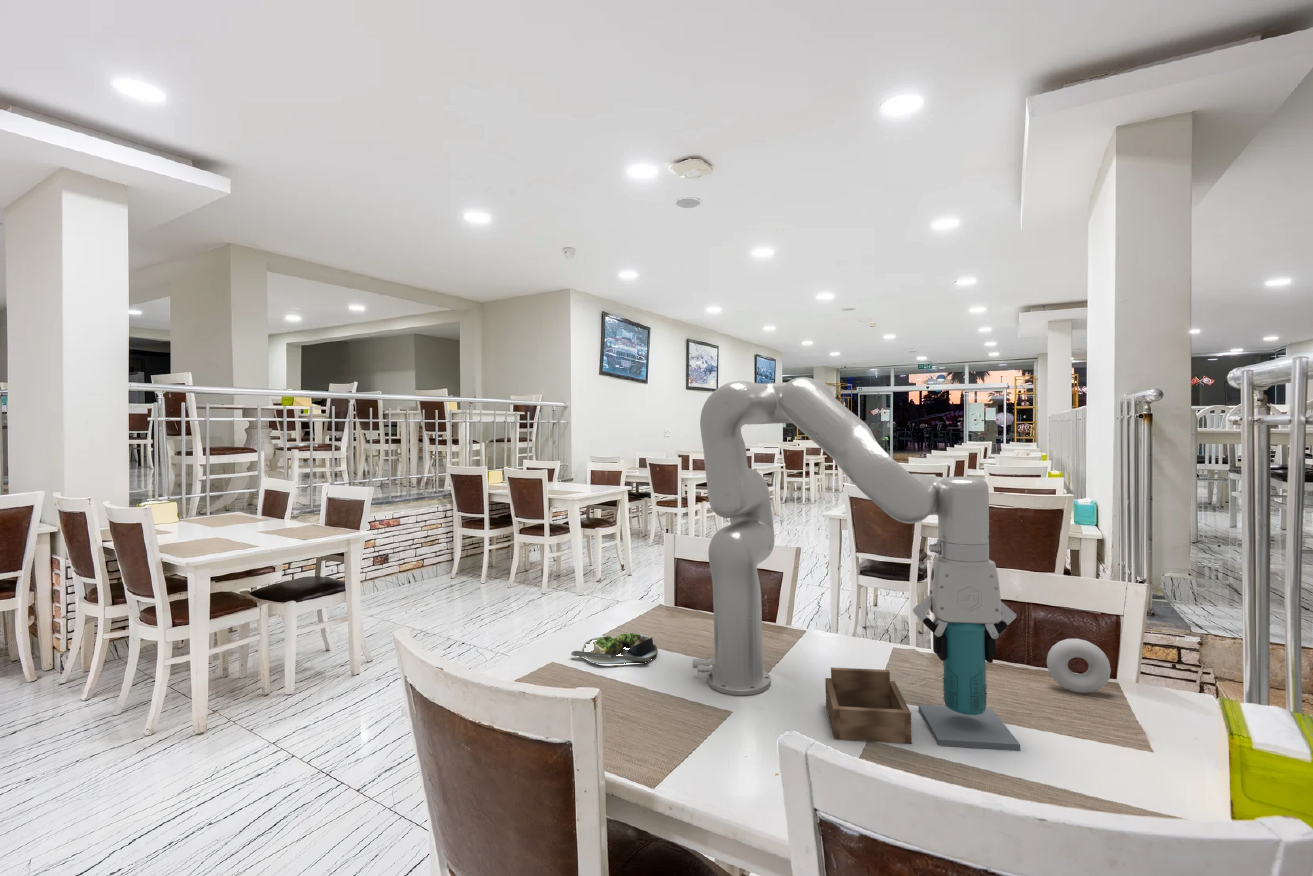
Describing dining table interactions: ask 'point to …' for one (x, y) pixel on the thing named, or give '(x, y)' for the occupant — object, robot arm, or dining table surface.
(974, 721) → the slate mat
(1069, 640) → the donut
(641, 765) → the dining table surface
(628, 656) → the salad plate
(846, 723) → the brown wooden open box
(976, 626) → the beverage bottle
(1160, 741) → the dining table surface
